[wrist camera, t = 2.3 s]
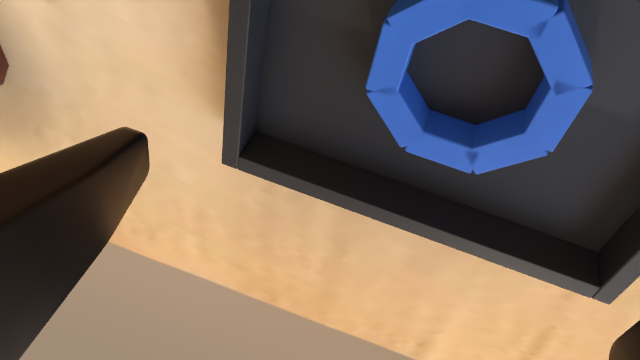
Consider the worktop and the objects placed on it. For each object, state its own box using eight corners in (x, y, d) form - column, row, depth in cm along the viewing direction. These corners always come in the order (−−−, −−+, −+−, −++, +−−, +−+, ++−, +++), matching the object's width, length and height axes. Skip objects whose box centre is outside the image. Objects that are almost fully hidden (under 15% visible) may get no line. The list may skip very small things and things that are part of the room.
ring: (627, 6, 16) (634, 29, 15) (526, 168, 21) (525, 193, 20) (411, -59, 17) (400, -42, 16) (362, 111, 22) (351, 133, 21)
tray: (923, -78, 13) (981, -45, 11) (605, 260, 23) (609, 305, 22) (277, -251, 15) (240, -245, 13) (244, 132, 25) (221, 163, 24)
